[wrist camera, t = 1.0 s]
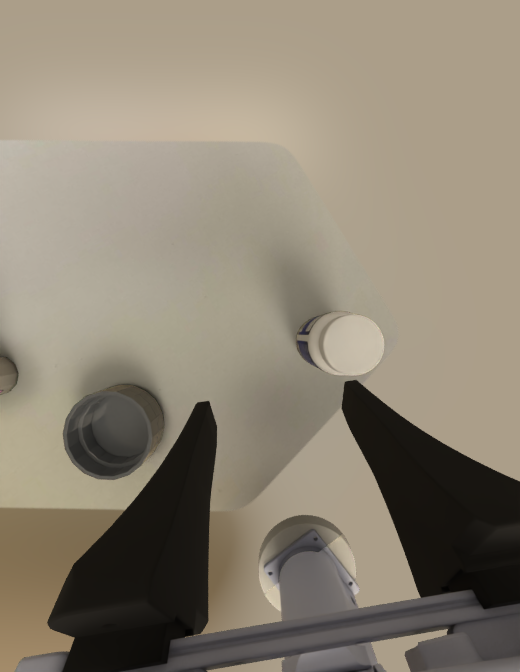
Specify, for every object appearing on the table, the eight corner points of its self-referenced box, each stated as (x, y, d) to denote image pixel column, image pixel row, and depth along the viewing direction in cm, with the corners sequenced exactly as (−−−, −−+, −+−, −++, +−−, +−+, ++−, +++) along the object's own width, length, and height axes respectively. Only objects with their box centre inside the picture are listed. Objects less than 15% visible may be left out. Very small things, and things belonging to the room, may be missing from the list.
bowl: (181, 429, 27) (170, 443, 24) (120, 476, 28) (99, 497, 24) (133, 368, 27) (115, 373, 24) (72, 416, 28) (44, 428, 24)
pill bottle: (341, 367, 27) (388, 386, 17) (293, 363, 27) (312, 380, 17) (346, 318, 27) (395, 310, 17) (297, 314, 27) (319, 304, 17)
